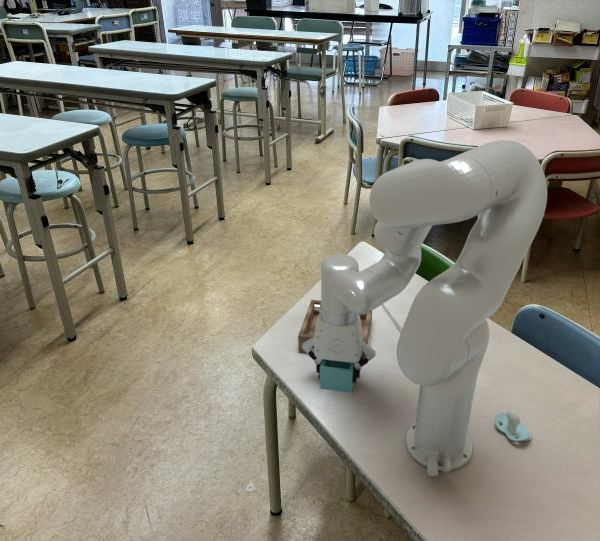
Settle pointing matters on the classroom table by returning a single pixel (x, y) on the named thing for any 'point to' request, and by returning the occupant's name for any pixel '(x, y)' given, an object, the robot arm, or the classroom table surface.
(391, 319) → the magic wand
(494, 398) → the classroom table surface
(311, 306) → the big crate
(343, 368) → the small crate
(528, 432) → the pacifier
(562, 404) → the classroom table surface
